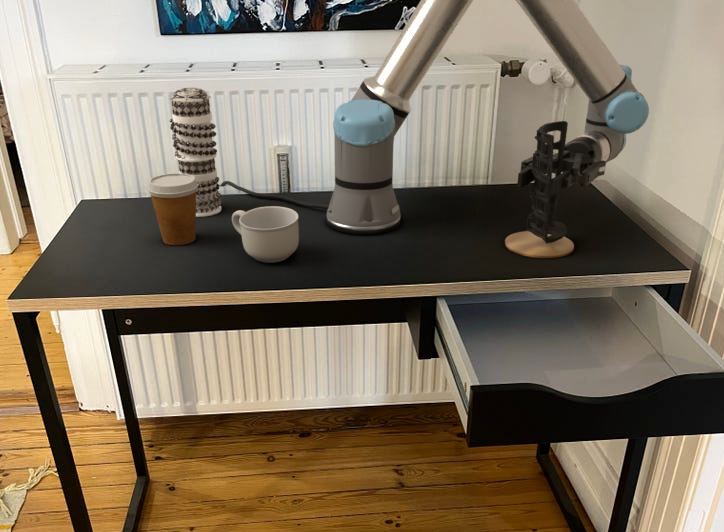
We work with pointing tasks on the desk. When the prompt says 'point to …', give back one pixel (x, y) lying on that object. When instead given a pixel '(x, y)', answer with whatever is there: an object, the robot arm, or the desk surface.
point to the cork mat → (538, 245)
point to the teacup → (268, 232)
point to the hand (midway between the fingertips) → (536, 183)
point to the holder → (546, 183)
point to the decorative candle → (196, 146)
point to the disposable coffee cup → (175, 206)
